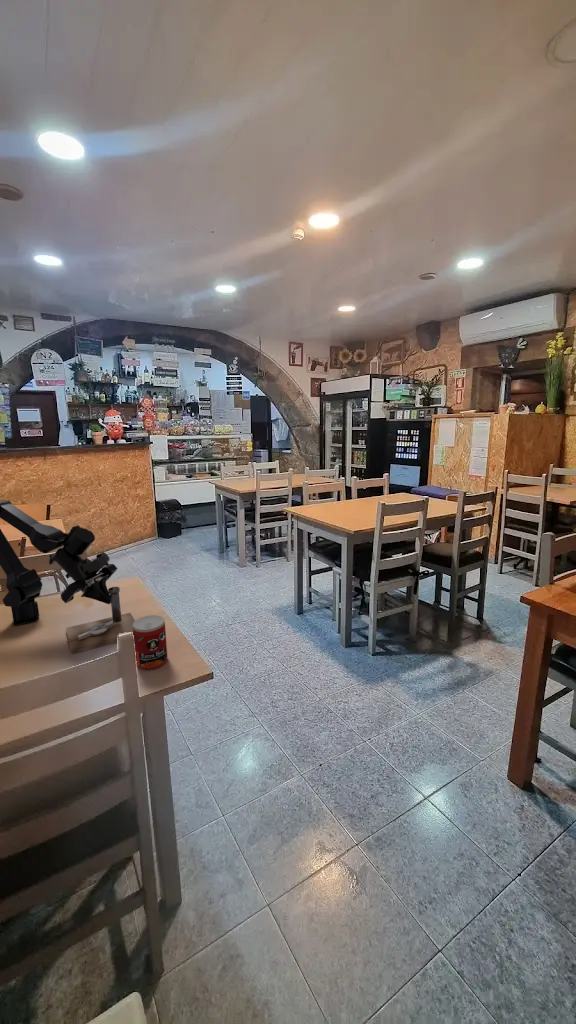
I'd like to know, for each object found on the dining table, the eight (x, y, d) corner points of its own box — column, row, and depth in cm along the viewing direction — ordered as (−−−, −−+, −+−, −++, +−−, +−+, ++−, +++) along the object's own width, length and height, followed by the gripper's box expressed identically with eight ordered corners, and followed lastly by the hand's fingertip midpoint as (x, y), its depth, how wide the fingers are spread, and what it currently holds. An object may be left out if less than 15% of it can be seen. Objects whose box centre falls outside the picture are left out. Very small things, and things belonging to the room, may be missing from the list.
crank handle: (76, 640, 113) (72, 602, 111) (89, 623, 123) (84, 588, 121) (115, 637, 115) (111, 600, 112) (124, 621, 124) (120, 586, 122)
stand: (68, 654, 110) (68, 649, 109) (64, 633, 121) (63, 627, 121) (141, 635, 119) (141, 629, 119) (130, 616, 131) (130, 611, 131)
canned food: (138, 674, 101) (134, 632, 99) (134, 658, 108) (130, 619, 105) (170, 665, 104) (167, 625, 102) (164, 650, 111) (161, 612, 109)
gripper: (64, 556, 110) (105, 599, 110) (109, 538, 128) (144, 574, 128) (43, 582, 114) (83, 623, 114) (89, 561, 131) (123, 596, 131)
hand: (110, 602), depth 122 cm, fingers closed, pressing on crank handle
